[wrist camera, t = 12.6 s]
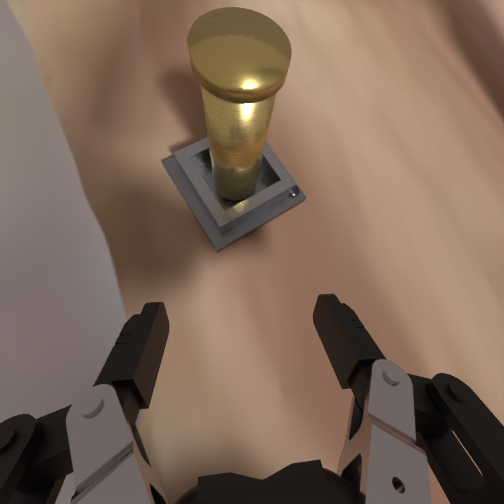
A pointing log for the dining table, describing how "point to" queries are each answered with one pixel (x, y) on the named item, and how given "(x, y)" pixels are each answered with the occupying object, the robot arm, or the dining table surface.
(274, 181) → the square tray with knobs
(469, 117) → the dining table surface
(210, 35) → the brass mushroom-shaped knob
